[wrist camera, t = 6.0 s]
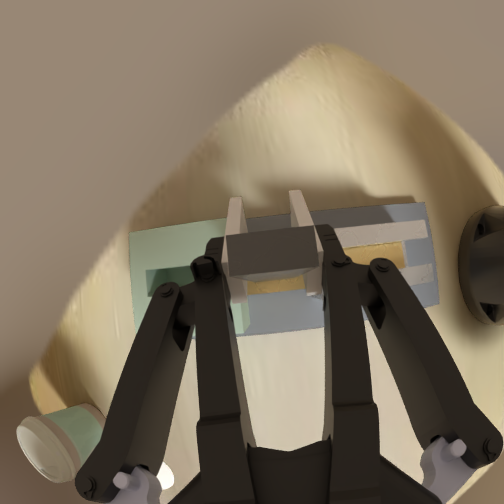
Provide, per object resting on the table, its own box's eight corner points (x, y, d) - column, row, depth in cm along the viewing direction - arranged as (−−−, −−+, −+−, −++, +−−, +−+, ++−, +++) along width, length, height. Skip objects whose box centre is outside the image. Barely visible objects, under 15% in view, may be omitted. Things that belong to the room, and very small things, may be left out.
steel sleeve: (400, 231, 24) (424, 219, 19) (407, 282, 24) (433, 280, 19) (306, 242, 25) (313, 230, 20) (312, 297, 24) (322, 300, 19)
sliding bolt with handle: (386, 242, 23) (494, 191, 8) (391, 275, 23) (507, 258, 8) (239, 259, 24) (182, 216, 9) (242, 294, 24) (189, 306, 9)
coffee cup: (77, 437, 26) (27, 467, 14) (65, 387, 27) (5, 410, 15) (123, 454, 25) (76, 498, 13) (112, 402, 26) (51, 438, 14)
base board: (418, 206, 26) (424, 202, 24) (432, 303, 24) (439, 303, 23) (151, 235, 28) (145, 233, 27) (159, 337, 27) (153, 339, 25)
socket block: (240, 230, 26) (232, 216, 21) (250, 324, 25) (243, 333, 19) (154, 242, 26) (128, 232, 21) (160, 329, 25) (136, 337, 20)
